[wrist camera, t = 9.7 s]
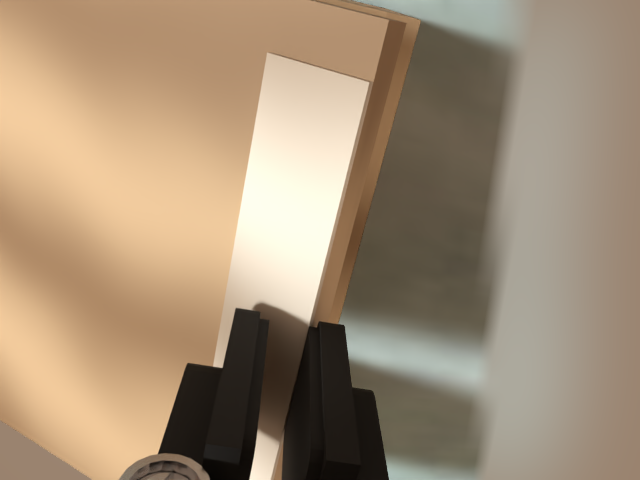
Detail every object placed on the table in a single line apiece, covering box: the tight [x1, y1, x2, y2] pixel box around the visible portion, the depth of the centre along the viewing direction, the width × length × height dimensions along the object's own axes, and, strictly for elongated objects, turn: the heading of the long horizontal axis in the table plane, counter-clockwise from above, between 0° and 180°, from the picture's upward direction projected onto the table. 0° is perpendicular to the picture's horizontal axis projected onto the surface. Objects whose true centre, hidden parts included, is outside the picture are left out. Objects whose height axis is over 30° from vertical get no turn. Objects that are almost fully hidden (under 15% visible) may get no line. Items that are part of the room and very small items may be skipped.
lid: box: [0, 0, 407, 480], centre depth 15 cm, size 14×14×1 cm
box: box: [317, 0, 421, 324], centre depth 22 cm, size 14×14×8 cm
